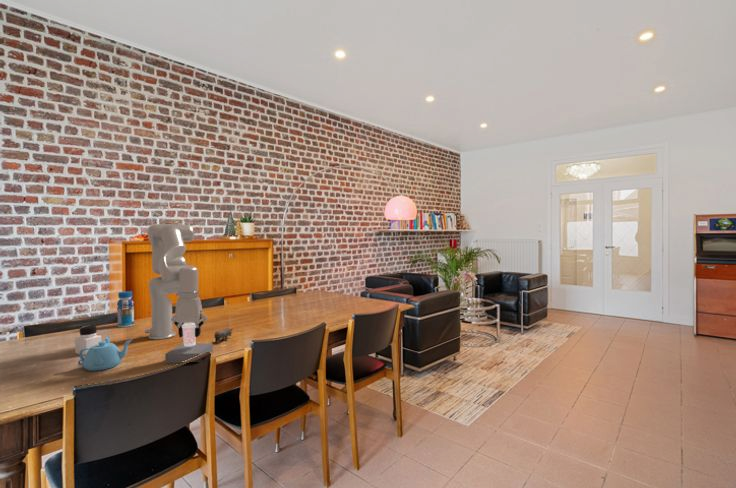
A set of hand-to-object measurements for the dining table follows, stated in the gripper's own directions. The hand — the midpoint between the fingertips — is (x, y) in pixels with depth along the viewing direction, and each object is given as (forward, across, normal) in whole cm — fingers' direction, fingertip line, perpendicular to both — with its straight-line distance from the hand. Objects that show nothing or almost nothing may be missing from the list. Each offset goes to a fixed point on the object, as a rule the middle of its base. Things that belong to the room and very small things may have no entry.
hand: (189, 336), depth 159 cm
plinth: (+9, 0, 0) cm, 9 cm away
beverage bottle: (+10, -64, +58) cm, 87 cm away
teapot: (+10, -30, -9) cm, 33 cm away
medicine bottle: (+10, -50, +9) cm, 52 cm away
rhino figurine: (+10, +6, +26) cm, 28 cm away
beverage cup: (+4, 0, 0) cm, 4 cm away
